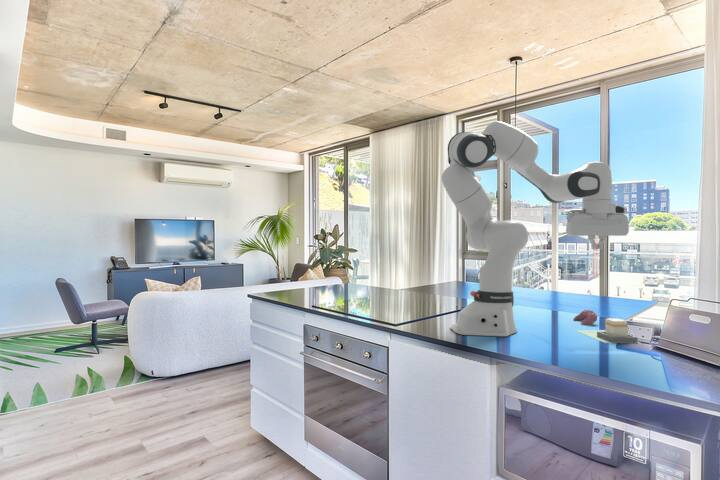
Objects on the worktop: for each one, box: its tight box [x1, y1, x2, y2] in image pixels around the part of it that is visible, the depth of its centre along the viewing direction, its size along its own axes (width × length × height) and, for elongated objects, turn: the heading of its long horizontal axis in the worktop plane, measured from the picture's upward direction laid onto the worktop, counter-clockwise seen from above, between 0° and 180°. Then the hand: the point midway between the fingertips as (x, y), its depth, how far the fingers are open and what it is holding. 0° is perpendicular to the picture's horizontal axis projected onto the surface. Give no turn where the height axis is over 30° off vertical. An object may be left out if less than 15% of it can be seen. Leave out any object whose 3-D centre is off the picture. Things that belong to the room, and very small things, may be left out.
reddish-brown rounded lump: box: [572, 309, 598, 326], centre depth 154 cm, size 10×5×7 cm, turn 170°
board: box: [574, 329, 641, 344], centre depth 132 cm, size 11×17×2 cm, turn 1°
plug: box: [604, 318, 628, 337], centre depth 128 cm, size 4×4×6 cm
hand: (596, 249), depth 141 cm, fingers closed
